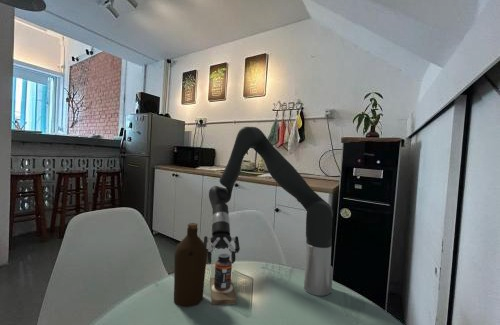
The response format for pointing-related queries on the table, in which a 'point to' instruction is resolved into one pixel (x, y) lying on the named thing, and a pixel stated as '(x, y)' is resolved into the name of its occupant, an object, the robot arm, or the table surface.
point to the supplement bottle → (223, 272)
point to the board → (222, 295)
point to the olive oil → (189, 269)
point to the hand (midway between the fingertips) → (221, 262)
